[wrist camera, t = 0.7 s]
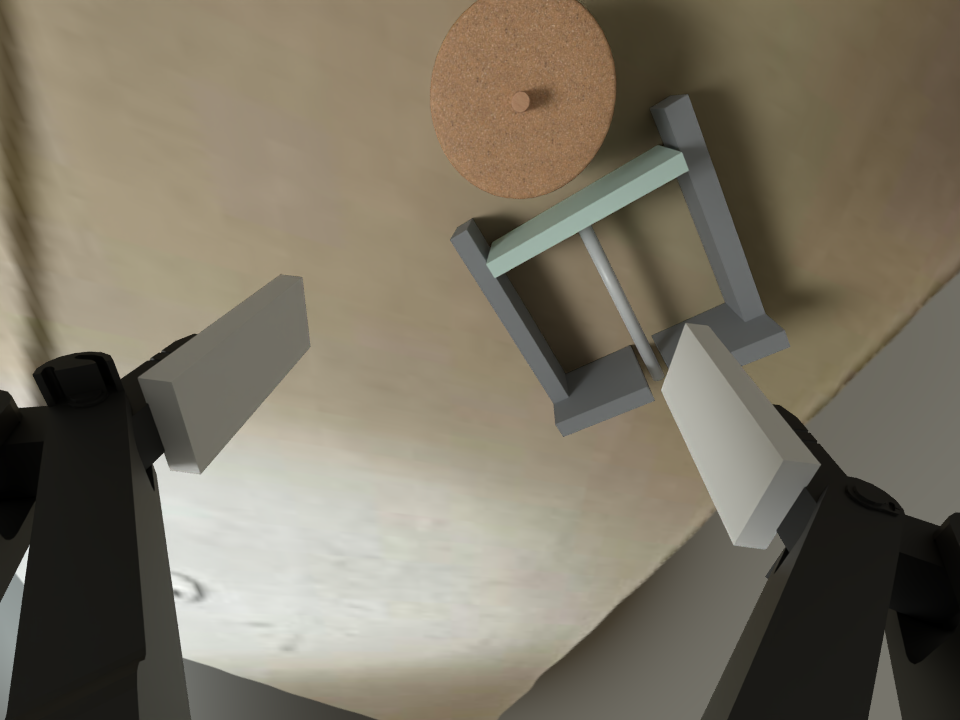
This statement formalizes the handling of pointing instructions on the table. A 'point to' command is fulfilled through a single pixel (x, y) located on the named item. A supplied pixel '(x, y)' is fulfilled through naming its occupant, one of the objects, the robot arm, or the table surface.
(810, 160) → the table surface
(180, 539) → the table surface
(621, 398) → the grey fixture frame
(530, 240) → the pusher
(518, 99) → the lidded jar
